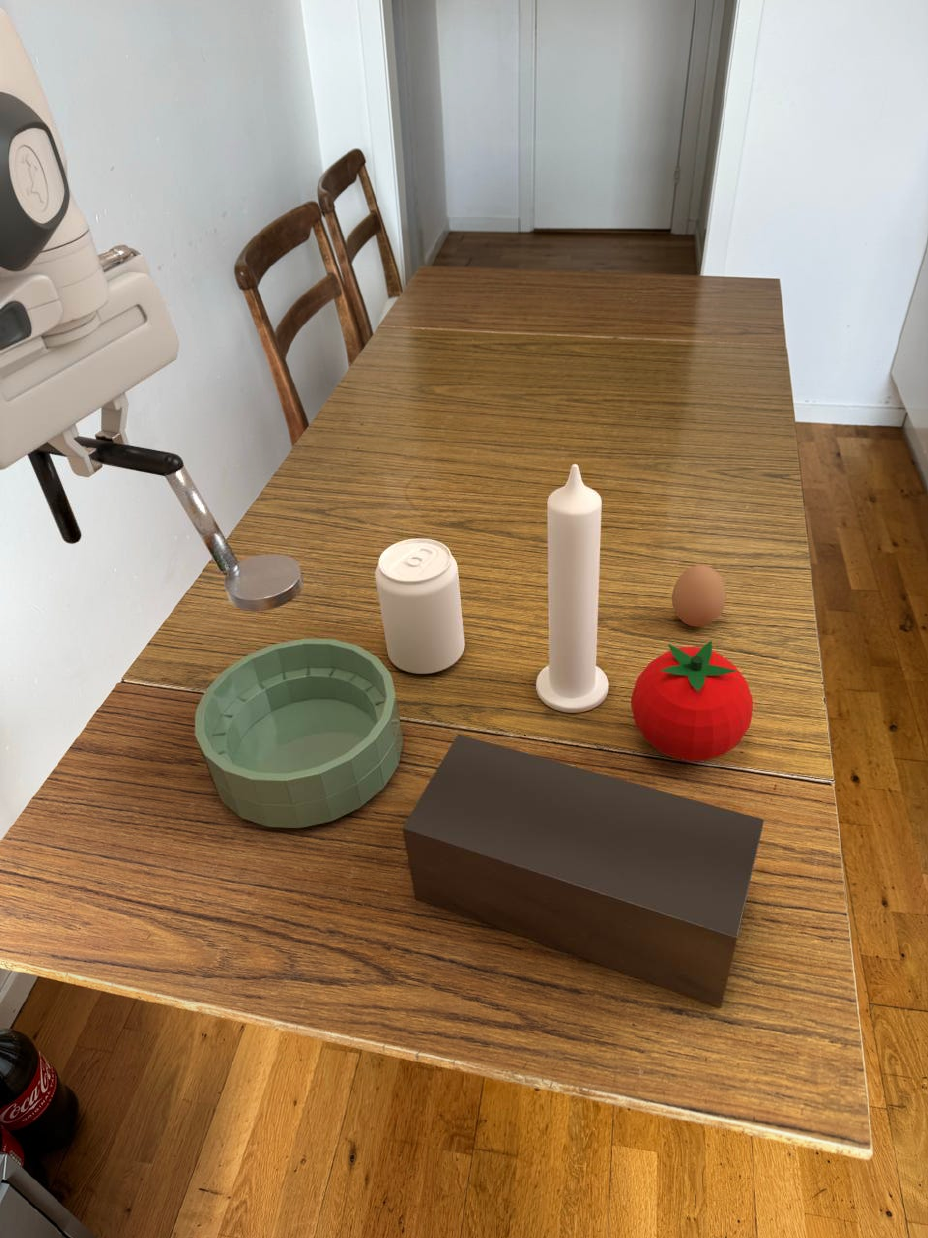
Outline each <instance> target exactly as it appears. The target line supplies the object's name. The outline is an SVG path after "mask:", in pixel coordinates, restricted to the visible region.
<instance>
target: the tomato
mask: <svg viewBox="0 0 928 1238" xmlns="http://www.w3.org/2000/svg"><path fill="white" fill-rule="evenodd" d="M667 646H668V648H669V650H668V651H666V652H664V653H663V654H661V655H660V656H657V657H656V658H655V659H653V660H651V661H649V663H648V664H647V665H646V666H645V668H644V669H643V670H642V672H641V673H640V674H639V675H638V677H637V679H636V681H635V683H634V687H633V691H632V694H631V699H630V701H631V702H630V704H631V711H632V716H633V721H634V723H635V726H636V727H637V729H638V730H639V732H640V734H641V735H642V737H643V738H644V739H645V741H646V742H647V743H648V744H650V745H651V746H652V747H653V748H654V749H656V750H657V751H658V752H660V753H662V754H664V755H665V756H668V757H671V758H672V759H675V760H680V761H681V760H682V761H686V762H705V761H708V760H712V759H715V758H718V757H721V756H724V755H725V754H726V753H728V752H730V751H731V750H733V749H734V748H735V747H736V746H738V745H739V744H740V742H741V741H742V739H743V738H744V736H745V735H746V733H747V732H748V731H749V728H750V726H751V723H752V718H753V710H754V699H753V696H752V693H751V689H750V686H749V683H748V682H747V678H745V676H744V675H743V674H742V673H741V671H740V670H739V669H738V668H737V667H736V666H735V664H734V663H732V662H731V661H730V660H728V659H727V658H726V657H724V656H723V655H721V654H720V653H719V652H716V651H713V641H712V640H709V641H708V642H707V643H706V644H705V645H703V646H702V647H697V646H680V647H675V646H674V645H672V644H670V643H668V644H667Z"/></svg>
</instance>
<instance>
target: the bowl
mask: <svg viewBox="0 0 928 1238" xmlns="http://www.w3.org/2000/svg"><path fill="white" fill-rule="evenodd" d="M399 714H400V713H399V708H398V702H397V695H396V690H395V685H394V681H393V676H392V674H391V672H390V671H389V669H387V667H386V666H385V665H384V664H383V662H382V661H381V659H380V658H379V657H377V655H374V653H371V652H369V651H368V650H366V649H364V648H362V647H361V646H359V645H357V644H354V643H349V642H347V641H346V642H345V641H343V640H339V639H333V638H299V639H295V640H290V641H289V640H288V641H283V642H280V643H279V642H277V643H275V644H272V645H269V646H267V647H264V648H261V649H259V650H256V651H254V652H251V653H249V654H247V655H245V656H243V657H241V658H240V659H239V660H237V661H235V662H234V663H233V664H231V665H230V666H228V667H227V668H226V669H224V670H223V671H222V672H221V673H220V674H219V675H218V676H217V677H216V678H215V679H214V680H213V681H212V682H211V684H210V685H209V686H207V688H206V689H205V691H204V692H203V695H202V697H201V699H200V701H199V704H198V706H197V708H196V709H195V713H194V738H195V740H196V743H197V744H198V747H199V750H200V752H201V755H202V758H203V761H204V764H205V767H206V768H207V772H208V774H209V777H210V780H211V782H212V784H213V786H214V788H215V790H216V793H217V795H218V797H219V799H220V801H221V803H223V804H224V805H225V806H227V808H228V809H230V810H231V811H232V812H234V813H235V814H236V815H237V816H238V817H240V818H241V819H244V820H247V821H250V822H253V823H255V824H259V825H261V826H264V827H268V828H286V829H302V828H306V827H311V826H316V825H320V824H321V825H322V824H325V823H326V824H327V823H332V822H333V821H335V820H338V819H340V818H342V817H344V816H346V815H348V814H350V813H351V812H354V811H356V810H358V809H361V808H362V807H363V806H364V805H365V804H366V803H367V802H369V801H370V800H371V799H372V798H373V797H375V796H376V795H377V794H378V793H380V792H381V791H382V790H383V789H384V788H385V787H386V785H387V784H388V782H389V781H390V780H391V777H392V776H393V775H394V773H395V772H396V770H397V768H398V766H399V764H400V759H401V755H402V749H403V746H404V738H403V732H402V731H403V730H402V726H401V720H400V715H399Z"/></svg>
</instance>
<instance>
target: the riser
mask: <svg viewBox="0 0 928 1238" xmlns="http://www.w3.org/2000/svg"><path fill="white" fill-rule="evenodd" d="M764 822H765V819H764V818H760V817H757V816H753V815H749V814H746V813H742V812H738V811H736V810H733V809H732V810H731V809H728V808H724V807H721V806H717V805H713V804H710V803H707V802H703V801H699V800H696V799H692V798H689V797H685V796H682V795H678V794H674V793H670V792H667V791H663V790H660V789H657V788H652V787H649V786H646V785H642V784H638V783H635V782H631V781H627V780H625V779H620V778H617V777H615V776H610V775H607V774H603V773H599V772H595V771H592V770H589V769H584V768H581V767H578V766H574V765H570V764H567V763H564V762H560V761H556V760H553V759H550V758H546V757H542V756H538V755H535V754H532V753H528V752H525V751H521V750H517V749H513V748H510V747H506V746H503V745H499V744H496V743H491V742H490V741H485V740H481V739H478V738H474V737H470V736H468V735H463V734H459V733H458V734H457V735H456V736H455V738H454V740H453V742H452V743H451V745H450V747H449V748H448V750H447V752H446V754H445V755H444V757H443V759H442V760H441V762H440V764H439V765H438V767H437V769H436V770H435V772H434V774H433V775H432V777H431V779H430V781H429V782H428V783H427V785H426V787H425V789H424V790H423V792H422V794H421V795H420V797H419V799H418V801H417V802H416V804H415V805H414V807H413V809H412V811H411V812H410V814H409V816H408V817H407V819H406V821H405V823H404V824H403V826H402V827H401V830H402V835H403V840H404V846H405V851H406V856H407V862H408V869H409V873H410V878H411V884H412V890H413V895H414V899H416V900H419V901H421V902H423V903H427V904H429V905H432V906H435V907H437V908H440V909H444V910H446V911H449V912H451V913H454V914H457V915H460V916H462V917H466V918H469V919H471V920H474V921H477V922H479V923H483V924H485V925H487V926H491V927H493V928H496V929H499V930H501V931H505V932H507V933H510V934H513V935H516V936H518V937H522V938H524V939H527V940H530V941H533V942H535V943H538V944H540V945H544V946H546V947H548V948H552V949H555V950H558V951H560V952H563V953H566V954H568V955H572V956H574V957H576V958H580V959H583V960H584V961H585V960H586V961H588V962H590V963H594V964H596V965H600V966H601V967H605V968H608V969H610V970H613V971H616V972H619V973H622V974H624V975H626V976H629V977H633V978H635V979H639V980H641V981H644V982H647V983H650V984H652V985H655V986H658V987H661V988H664V989H667V990H669V991H672V992H675V993H677V994H680V995H683V996H686V997H689V998H691V999H694V1000H697V1001H700V1002H703V1003H705V1004H708V1005H711V1006H714V1007H717V1008H720V1009H722V1006H723V1002H724V998H725V994H726V989H727V985H728V980H729V976H730V971H731V967H732V963H733V960H734V954H735V950H736V947H737V941H738V938H739V937H738V936H739V934H740V933H739V932H740V928H741V924H742V920H743V916H744V910H745V906H746V901H747V897H748V893H749V889H750V885H751V880H752V876H753V872H754V867H755V863H756V858H757V854H758V850H759V845H760V841H761V836H762V832H763V828H764Z"/></svg>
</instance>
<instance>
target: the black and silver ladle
mask: <svg viewBox="0 0 928 1238" xmlns="http://www.w3.org/2000/svg"><path fill="white" fill-rule="evenodd" d="M74 440H75V441H76V442H78V443H79V444H80V445H81V446H85V447H86V448H90V447H91V448H96V449H97V451H98V454H99V460H100V461H101V462H102V465H104V466H109V467H116V468H120V469H126V470H130V471H136V472H141V473H144V474H145V473H146V474H151V475H157V476H161V477H165V479H166V480H167V482H168V484H169V486H170V487H171V489H172V491H173V493H174V494H175V496H176V498H177V499H178V501H179V503H180V505H181V507H182V508H183V510H184V511H185V512H184V513H186V515H187V517H188V519H189V520H190V522H191V524H192V525H193V527H194V529H195V531H196V532H197V534H198V536H199V537H200V539H201V541H202V543H203V544H204V546H205V548H206V550H207V551H208V553H209V555H210V556H211V558H212V560H213V562H214V563H215V565H216V567H217V568H218V570H219V572H220V573H221V574H222V575H224V580H223V587H224V590H225V593H226V596H227V599H228V601H229V603H231V604H232V606H234V607H235V608H237V609H241V610H243V611H247V612H248V611H249V612H264V611H269V610H274V609H276V608H280V607H282V606H284V605H286V604H288V603H290V602H291V601H292V600H294V599H296V597H298V595H299V594H300V593H301V591H302V589H303V587H304V579H303V574H302V569H301V566H300V564H299V563H298V561H296V560H295V559H294V558H292V557H290V556H288V555H285V554H277V553H268V554H266V553H265V554H260V555H259V554H258V555H255V556H251V557H248V558H246V559H244V560H241V561H240V562H239V560H238V558H237V556H236V555H235V553H234V551H233V550H232V548H231V546H230V543H228V540H227V539H226V537H225V536H224V534H223V532H222V530H221V528H220V526H219V524H218V523H217V521H216V519H215V518H214V516H213V514H212V512H211V511H210V509H209V507H208V505H207V503H206V502H205V500H204V498H203V496H202V495H201V493H200V492H199V490H198V488H197V486H196V484H195V482H194V481H193V479H192V476H190V474H189V472H188V470H187V468H186V467H185V464H184V461H183V459H182V457H181V456H179V455H178V454H177V453H174V452H169V451H163V450H157V449H154V448H153V449H152V448H147V447H142V446H137V445H131V444H129V445H125V444H120V443H114V442H109V441H104V440H98V439H96V438H93V437H86V436H81V435H79V436H78V437H76V438H74ZM51 455H54V456H58V457H63V458H67V456H66V455H64V454H63V453H61V452H60V451H59V450H57V449H56V448H55V447H53V446H52V445H51V444H49V443H48V442H46V443H45V444H43V445H42V446H40V447H39V448H37V449H35V450H34V451H32V452H31V453H29V454H28V455H27V458H28V460H29V462H30V464H31V467H32V469H33V473H34V474H35V477H36V479H37V481H38V484H39V486H40V488H41V491H42V493H43V496H44V498H45V500H46V503H47V505H48V507H49V510H50V512H51V514H52V517H53V520H54V522H55V525H56V526H57V529H58V531H59V534H60V536H61V538H62V540H63V541H64V542H65V543H66V544H69V545H75V544H78V543H79V542H80V541H81V539H82V531H81V528H80V526H79V524H78V520H77V518H76V516H75V513H74V510H73V508H72V506H71V503H70V501H69V498H68V496H67V494H66V491H65V489H64V486H63V483H62V481H61V478H60V475H59V474H58V471H57V468H56V466H55V464H54V461H53V459H52V456H51Z"/></svg>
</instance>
